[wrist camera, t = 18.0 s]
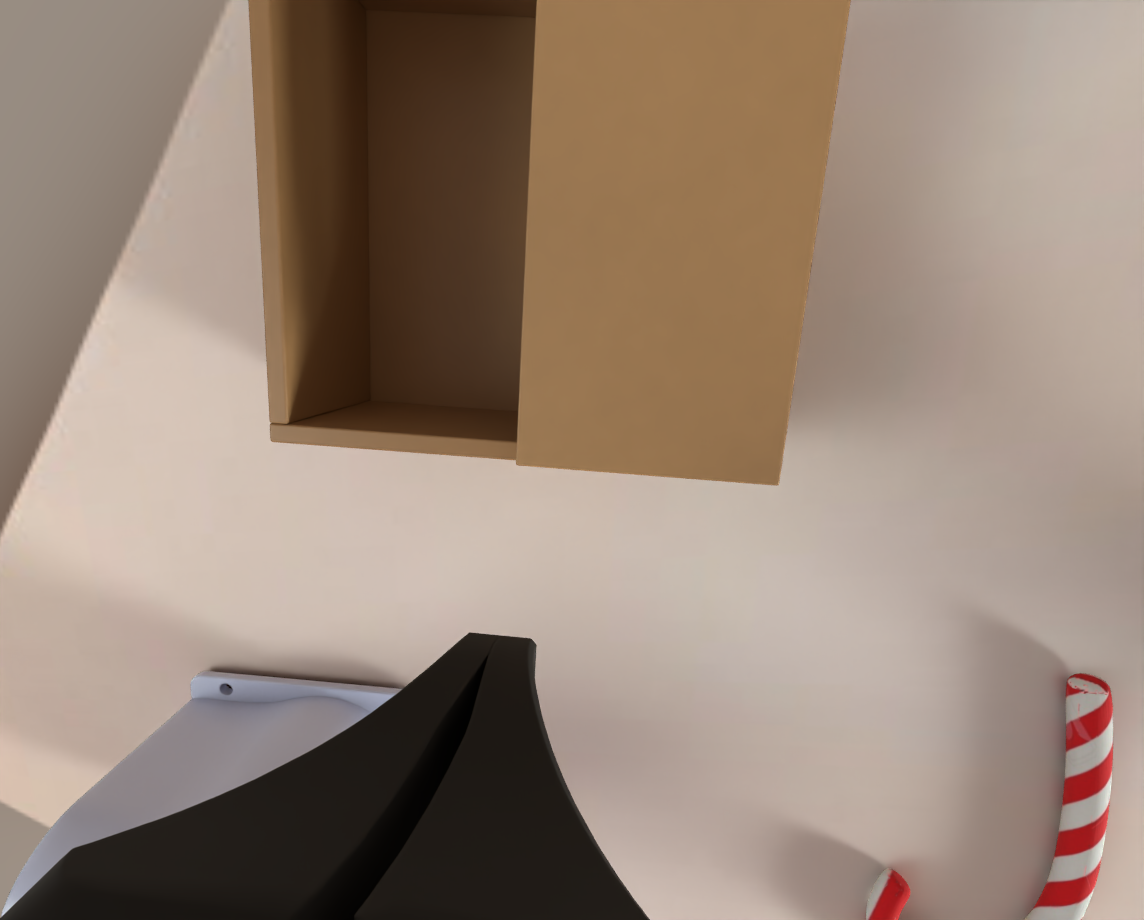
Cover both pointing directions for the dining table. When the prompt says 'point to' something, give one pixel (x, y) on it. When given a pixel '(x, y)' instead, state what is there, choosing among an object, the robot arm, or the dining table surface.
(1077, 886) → the candy cane
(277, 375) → the cardboard box
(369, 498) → the dining table surface
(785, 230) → the box flap
